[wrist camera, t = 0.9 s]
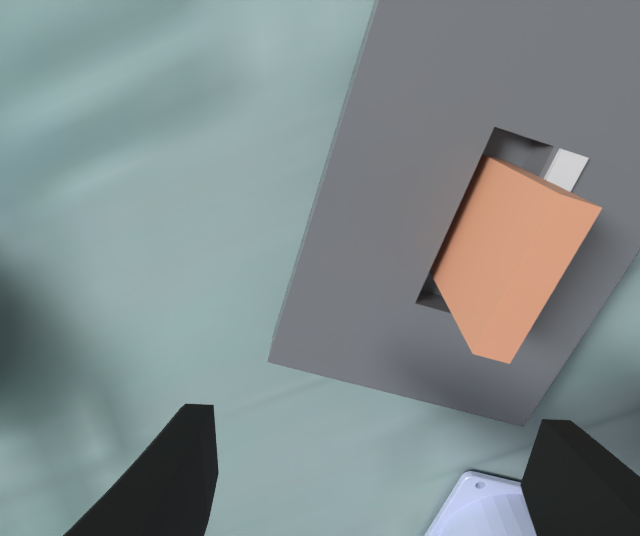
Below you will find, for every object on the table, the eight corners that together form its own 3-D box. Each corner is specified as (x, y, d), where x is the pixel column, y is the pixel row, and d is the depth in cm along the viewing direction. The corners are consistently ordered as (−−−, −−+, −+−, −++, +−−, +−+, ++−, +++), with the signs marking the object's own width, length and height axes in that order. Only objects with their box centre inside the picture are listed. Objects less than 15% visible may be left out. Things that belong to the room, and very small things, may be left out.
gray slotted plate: (717, 53, 15) (777, 50, 13) (506, 396, 21) (525, 429, 19) (395, -68, 14) (407, -92, 12) (272, 335, 20) (267, 364, 18)
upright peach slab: (509, 162, 16) (602, 207, 11) (454, 276, 18) (509, 363, 13) (480, 153, 16) (559, 193, 11) (428, 268, 18) (472, 354, 13)
